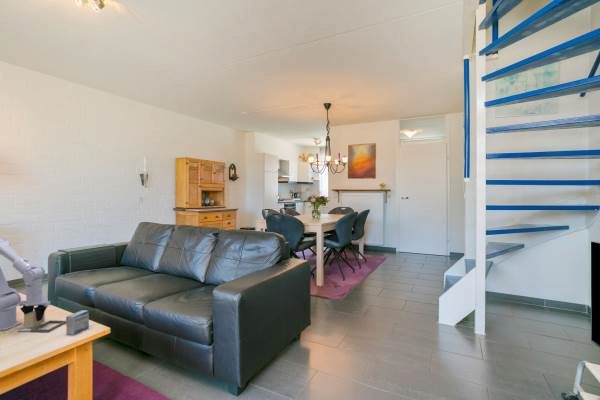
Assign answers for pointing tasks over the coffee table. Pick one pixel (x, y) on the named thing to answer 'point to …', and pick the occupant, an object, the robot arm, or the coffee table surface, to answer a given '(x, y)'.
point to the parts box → (32, 319)
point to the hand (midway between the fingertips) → (34, 320)
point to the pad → (29, 328)
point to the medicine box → (77, 322)
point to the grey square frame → (37, 329)
